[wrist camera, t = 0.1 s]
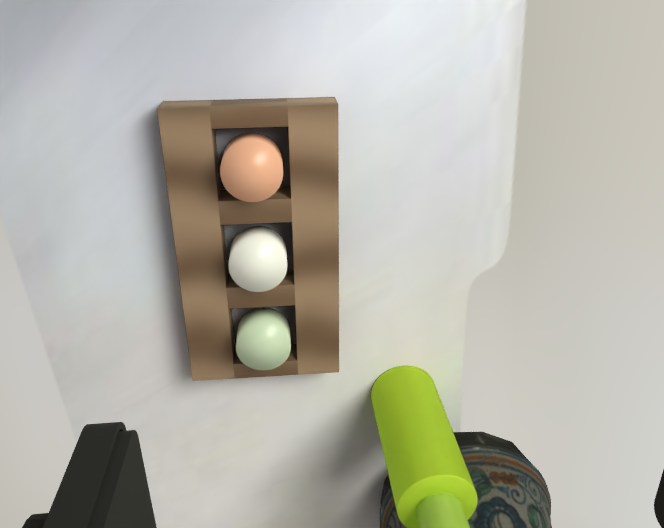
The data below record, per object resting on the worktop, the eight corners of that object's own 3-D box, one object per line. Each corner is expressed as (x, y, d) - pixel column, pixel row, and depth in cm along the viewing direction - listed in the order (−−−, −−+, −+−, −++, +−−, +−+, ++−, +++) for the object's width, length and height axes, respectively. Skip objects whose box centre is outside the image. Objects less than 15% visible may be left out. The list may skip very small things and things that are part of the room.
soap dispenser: (365, 426, 57) (408, 636, 40) (375, 364, 54) (426, 561, 37) (426, 427, 58) (496, 634, 40) (439, 366, 55) (520, 561, 37)
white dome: (228, 227, 46) (226, 240, 43) (285, 224, 46) (286, 238, 44) (232, 277, 47) (231, 293, 45) (287, 275, 48) (288, 290, 46)
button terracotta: (220, 133, 43) (217, 142, 40) (281, 131, 43) (281, 140, 41) (225, 191, 44) (222, 203, 42) (283, 189, 45) (284, 200, 42)
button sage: (235, 309, 49) (233, 326, 46) (288, 306, 49) (289, 323, 47) (239, 353, 51) (238, 371, 48) (290, 350, 51) (291, 368, 49)
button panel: (163, 101, 43) (157, 109, 41) (334, 97, 44) (338, 104, 42) (195, 363, 53) (192, 380, 50) (336, 354, 54) (338, 372, 51)
